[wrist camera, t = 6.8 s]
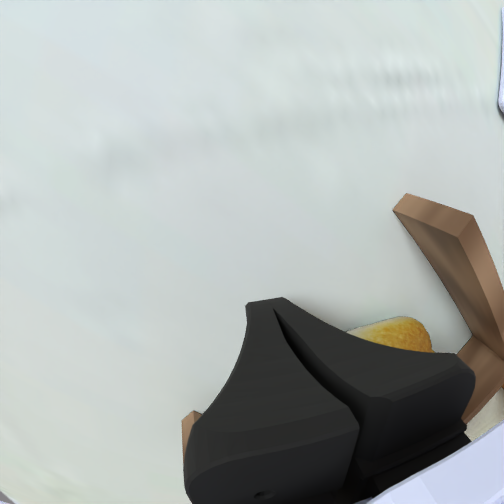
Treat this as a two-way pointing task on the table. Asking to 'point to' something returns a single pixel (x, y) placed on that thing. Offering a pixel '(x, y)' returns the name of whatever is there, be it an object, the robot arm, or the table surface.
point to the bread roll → (396, 334)
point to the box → (454, 291)
